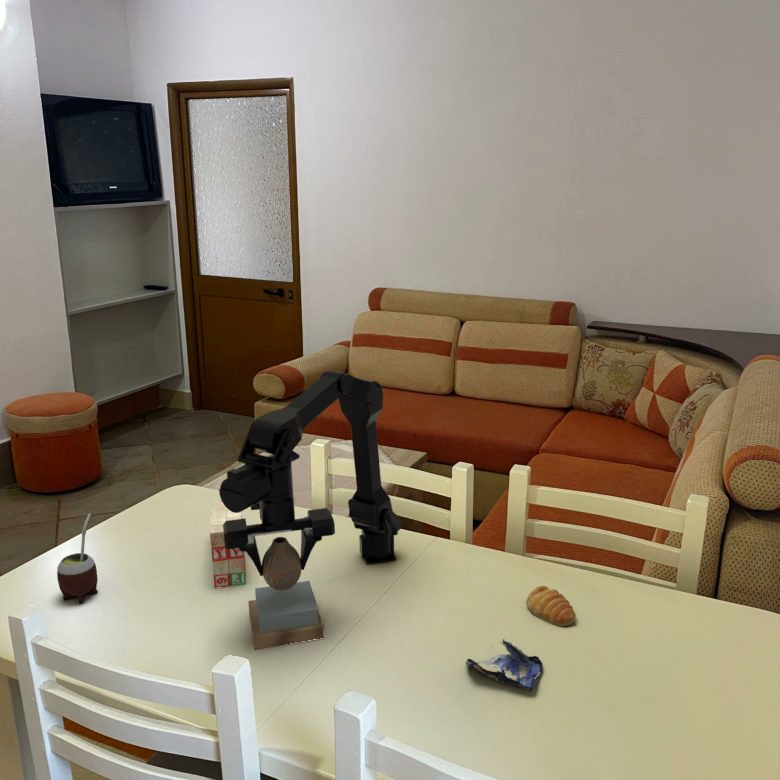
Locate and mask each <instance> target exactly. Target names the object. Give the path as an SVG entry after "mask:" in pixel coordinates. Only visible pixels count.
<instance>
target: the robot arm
mask: <svg viewBox="0 0 780 780" xmlns="http://www.w3.org/2000/svg"><path fill="white" fill-rule="evenodd" d="M383 399H384V390H383V387H382V384H380V383H379V382H378V381H374V380H369V379H363V378H359V377H355V376H352V375H351V374H348V373H347V372H344V371H336V370H326V371H323V372H322V373H321V375H320V377H319V378H318V379H317V380H316V381H315V382H313V383H312V384H311V385H310V386H309V387H308V388H306V389H305V390H304V391H303V392H302V393H300V394H299V395H298V396H297V397H295V398H294V399H293V400H291V402H289V403H288V404H287V405H285V406H283V407H282V408H279V409H276V410H272V411H267V412H266V413H265V414H262V415H260V416H259V417H257V418H256V419H254V420H253V422H252V423H251V424H250V426H249V430H248V432H247V434H246V437H245V439H244V443H243V445H242V447H241V450H240V453H239V456H238V458H237V462H238V463H242V464H243V465H241V466H239V467H237V468H232V469H230V470H228V471H227V472H226V477H227V478H226V479H223V481H222V482H221V484H220V487H219V489H218V491H219V492H218V493H219V498H220V500H221V501H222V502H223V504H224V505H225V507H226V508H227V509H228V510H230V511H231V512H234V513H239V512H241V513H242V512H243V511H245V510H247V509H249V508H250V510H251V511H258V510H259V518H260V520H261V523H256V524H250V525H249V524H248V525H247V521H246V520H247V519H246V518H245V517H244V518H242V519H237V520H229V521H225V523H224V524H223V531H224V541H225V548H226V549H235V548H239V551H241V552H243V551H245V552H246V554H247V555H248V557H249V558H250V560H252V562H253V564H254V567H255V568H256V569H257V572H258V573H259V576H260V577H262V576H263V571H262V560H261V557H260V551H259V548H258V545H257V539H256V537H258V536H266V535H274V534H280V533H288V532H296V531H301V532H300V536H301V541H300V554H299V556H300V559H301V567H302V568H301V571H303V570H305V568H306V564H307V563H308V560H309V557H310V556H311V555H310V554H311V552H312V551H313V549H314V547H315V545H316V544H317V542H320V541H322V540H323V537H328V536H333V535H335V534H336V530H335V529H336V527H335V525H336V524H335V519H334V517H333V515H332V512H331V510H329V509H328V508H327V507H324V508H316V509H309V510H307V516H304V517H303V518H302V517H301V518H296V514H295V513H296V512H295V501H294V499H295V498H294V497H295V496H294V484H293V483H294V482H293V471H292V470H293V469H292V467H293V466H292V463H293V462H294V461H296V460H298V459H299V458H300V454H299V453H297V452H296V451H294V450H295V448H296V447H297V446H298V444H299V443H300V442H301V441H302V437H303V434H304V430H305V429H306V427H308V425H310V424H311V423H312V422H313V421H314V420H316V419H317V418H318V417H319V416H320V415H321V414H322V413H324V411H325V410H327V409H328V408H329V407H330V406H332V404H334V403H335V402H336V401H337V400H338V402H339V407H340V410H341V413H342V414H343V416H344V417H345V419H346V420H347V421H348V423H349V425H350V433H351V442H352V452H353V461H354V472H355V481H356V490H355V492H354V493H353V495H352V497H351V498H349V499H348V501H347V505H348V517H349V518H350V520H351V522H352V523H353V526H354V528H355V529H356V530H357V529H359V530H361V534H359V537H358V541H359V554H360V556H361V558H362V559H363V560H364V562H365V564H366V565H372V564H381V563H386V562H394V561H395V562H396V561H397V559H398V558H397V555H396V554H395V536H398V534H399V531H400V530H401V527H402V521H403V520H402V518H401V517H399V516H398V514H396V512H394V511H393V507H392V506H393V505H392V500H391V498H390V496H389V495H388V493H387V491H386V490H385V488H384V487H383V486H382V478H381V477H382V476H381V466H380V456H379V453H380V452H379V445H378V443H379V442H378V434H377V433H378V432H377V419H378V418H379V416H380V414H381V412H382V411H383V407H384V406H383V405H384V404H383V403H384V402H383V401H384V400H383ZM255 451H257V452H262V453H266V454H269V455H263V454H258V453H255Z"/></svg>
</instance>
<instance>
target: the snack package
mask: <svg viewBox="0 0 780 780" xmlns="http://www.w3.org/2000/svg"><path fill="white" fill-rule="evenodd" d="M500 644H502V645H503V646H504V647H505V649H506V651H507V652H508V653H506V654H498V655H495V656H493V657H491V658H489V659H486V660H482V661H481V660H480V661H475V660H473V659H471V658H467V659H466V661H465V665H466V666H467V668H468V669H470V668H472V667H473V668H474V669H475V670H476V671H478V672H480V673H482V674H484V675H485V676H487V677H489V678H491V679H493V680H495V681H497V682H499V683H502V684H506V685H507V684H508V685H514V686H520V687H521V688H522V689H524V690H527V691H528V692H530V693H532V692H533V691H534V689H535V688H536V685H537V683H538V678H539V676H540V675H541V674H542V672H543V670H544V669H543V668H544V666H543V662H542V661H541V659H540V658H539V656H536V655H533V656H528V655H527V654H525V653H524V652H523V650H521V649H519V648H518V647H517V646H515V645H513V644H512V643H511V642H509V641H506V640H505V638H502V641H500ZM491 648H492V649H493V648H494V647H493V646H492V647H491ZM480 664H484V665H488V666H491V667H493V668H496V669H498V670H500V671H498V670H497V671H493V670H492V671H491V670H487V669H485V668H484V667H482V666H481V665H480ZM508 671H510V673H511V675H512V676H513V677H508V676H507V675H506V672H508Z"/></svg>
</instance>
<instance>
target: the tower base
mask: <svg viewBox="0 0 780 780" xmlns="http://www.w3.org/2000/svg"><path fill="white" fill-rule="evenodd" d="M313 595H314V599H315V602H316V597H315V594H314V592H313ZM316 606H317V609H318V625H313V626H307V627H300V628H294V629H287V630H281V631H274V632H268V633H261V634H260V627H259V620H258V613H257V605H256V599H253V600H248V611H249V612H248V613H249V621H250V627H251V628H252V629H251V634H252V642H253V649H254V651H256V650H263V649H268V648H269V647H270V648H274V647H275V646H276V647H281V645H282V646H286V645H285V644H288V645H291V644H290V643H294V644H296V643H295V642H300V643H303V642H302V641H306V642H309V641H308V640H312V641H314V640H313V639H319V640H321V639H320V638H324V639H325V634H324V632H325V630H324V624H323V621H322V617H321V614H320V610H319V607H318V605H317V602H316ZM276 647H275V648H276Z"/></svg>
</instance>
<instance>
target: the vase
mask: <svg viewBox="0 0 780 780" xmlns="http://www.w3.org/2000/svg"><path fill="white" fill-rule="evenodd" d="M261 565H262V571H263V580H264V581H265V583H266V584H267V585H268V586H270V587H272V588H273V589H275V590H287V589H290V588H292V587H293V586H294V585H295V584H296V583H297V582H299V580H300V577H301V575H302V569H301V568H302V567H301V559H300V554H299V552H298V550H297V549H296V548H295V547H294V546H293V545H292V544H291V543H290V542H289V541H288V539H287V537H284V536H278V537H277V536H276V537H275V538H274V539H272V541H271V545H270V546H269V547H268V548H267V549H266V551H265V553H264V555H263V557H262V560H261Z"/></svg>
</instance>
